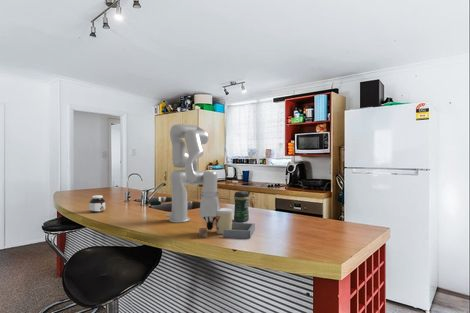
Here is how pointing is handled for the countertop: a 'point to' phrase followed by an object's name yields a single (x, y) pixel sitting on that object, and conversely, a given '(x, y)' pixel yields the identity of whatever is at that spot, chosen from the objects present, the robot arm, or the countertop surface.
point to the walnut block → (202, 232)
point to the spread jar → (97, 204)
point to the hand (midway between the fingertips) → (210, 229)
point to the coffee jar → (241, 206)
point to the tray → (240, 230)
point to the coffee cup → (223, 220)
